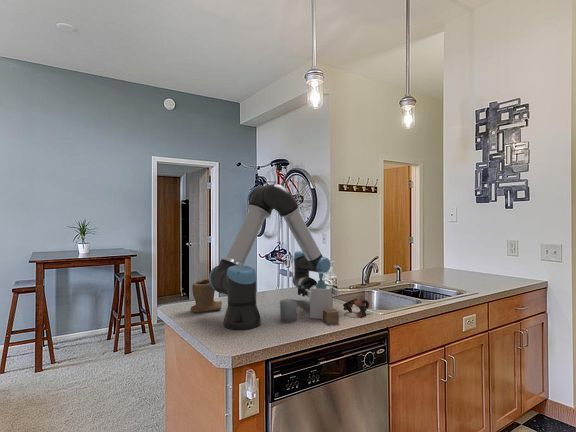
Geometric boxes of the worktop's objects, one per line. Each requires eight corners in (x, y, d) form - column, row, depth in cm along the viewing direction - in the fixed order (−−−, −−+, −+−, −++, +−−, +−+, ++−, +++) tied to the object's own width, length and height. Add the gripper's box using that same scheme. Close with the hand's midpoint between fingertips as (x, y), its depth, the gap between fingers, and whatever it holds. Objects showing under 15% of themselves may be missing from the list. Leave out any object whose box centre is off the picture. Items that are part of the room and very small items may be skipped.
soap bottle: (332, 314, 160) (332, 271, 160) (329, 319, 151) (329, 274, 151) (314, 313, 162) (313, 270, 162) (310, 318, 154) (309, 273, 154)
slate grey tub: (287, 323, 147) (287, 303, 147) (276, 319, 153) (276, 301, 153) (300, 319, 152) (299, 301, 152) (289, 316, 157) (289, 298, 157)
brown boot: (191, 315, 161) (191, 282, 161) (189, 309, 172) (189, 278, 172) (225, 312, 166) (225, 280, 166) (221, 306, 177) (220, 276, 178)
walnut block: (322, 321, 149) (322, 309, 149) (334, 320, 150) (333, 308, 150) (327, 324, 144) (327, 312, 144) (338, 323, 146) (338, 311, 146)
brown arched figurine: (354, 320, 152) (345, 302, 154) (346, 324, 160) (337, 307, 163) (376, 309, 157) (367, 292, 159) (367, 314, 165) (358, 297, 167)
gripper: (330, 291, 177) (350, 300, 156) (284, 294, 171) (297, 304, 150) (330, 275, 177) (349, 283, 156) (284, 278, 171) (297, 286, 150)
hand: (324, 293), depth 153 cm, fingers closed on soap bottle, 12 cm apart
